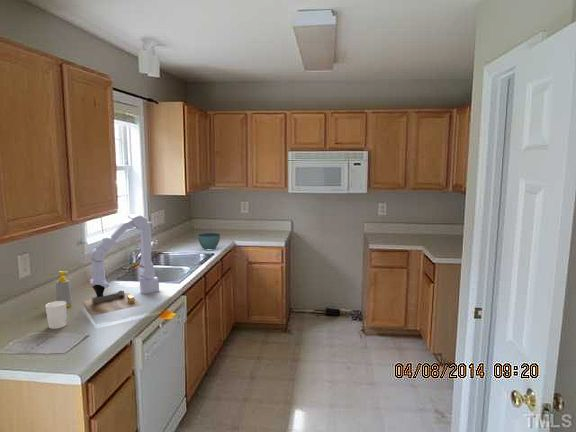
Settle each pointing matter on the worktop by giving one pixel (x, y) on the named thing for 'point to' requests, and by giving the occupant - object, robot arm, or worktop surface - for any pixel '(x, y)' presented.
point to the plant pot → (209, 240)
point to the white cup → (56, 314)
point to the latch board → (110, 305)
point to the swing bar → (108, 297)
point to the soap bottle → (63, 290)
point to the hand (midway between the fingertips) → (100, 298)
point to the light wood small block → (131, 299)
